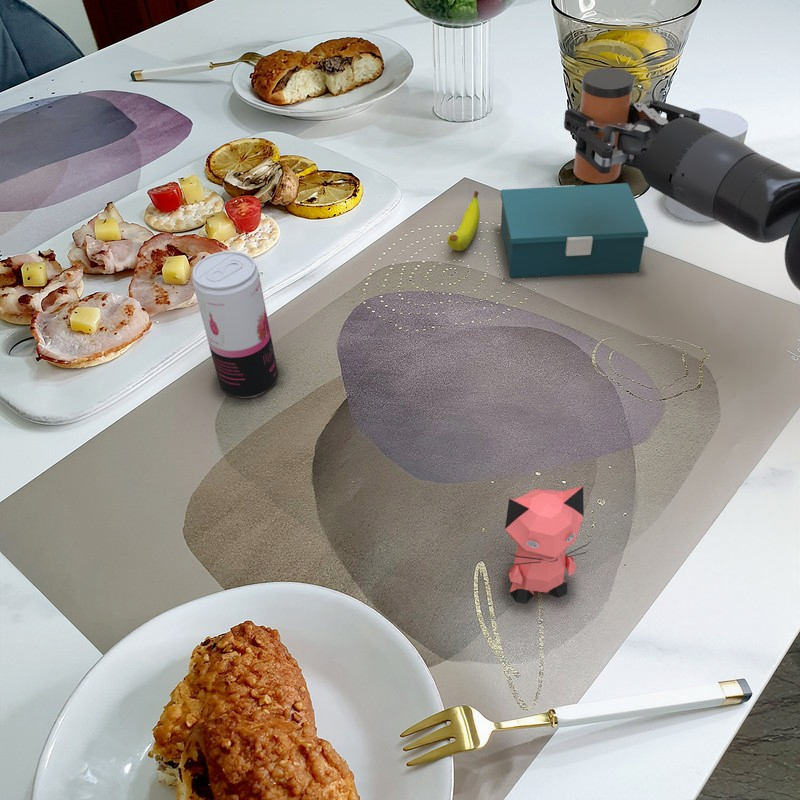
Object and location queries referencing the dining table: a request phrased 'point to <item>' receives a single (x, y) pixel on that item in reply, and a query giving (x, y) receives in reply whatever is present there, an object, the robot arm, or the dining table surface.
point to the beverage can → (236, 323)
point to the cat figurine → (543, 540)
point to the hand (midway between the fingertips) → (587, 110)
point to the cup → (725, 124)
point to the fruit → (466, 227)
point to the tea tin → (604, 112)
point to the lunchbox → (572, 230)
